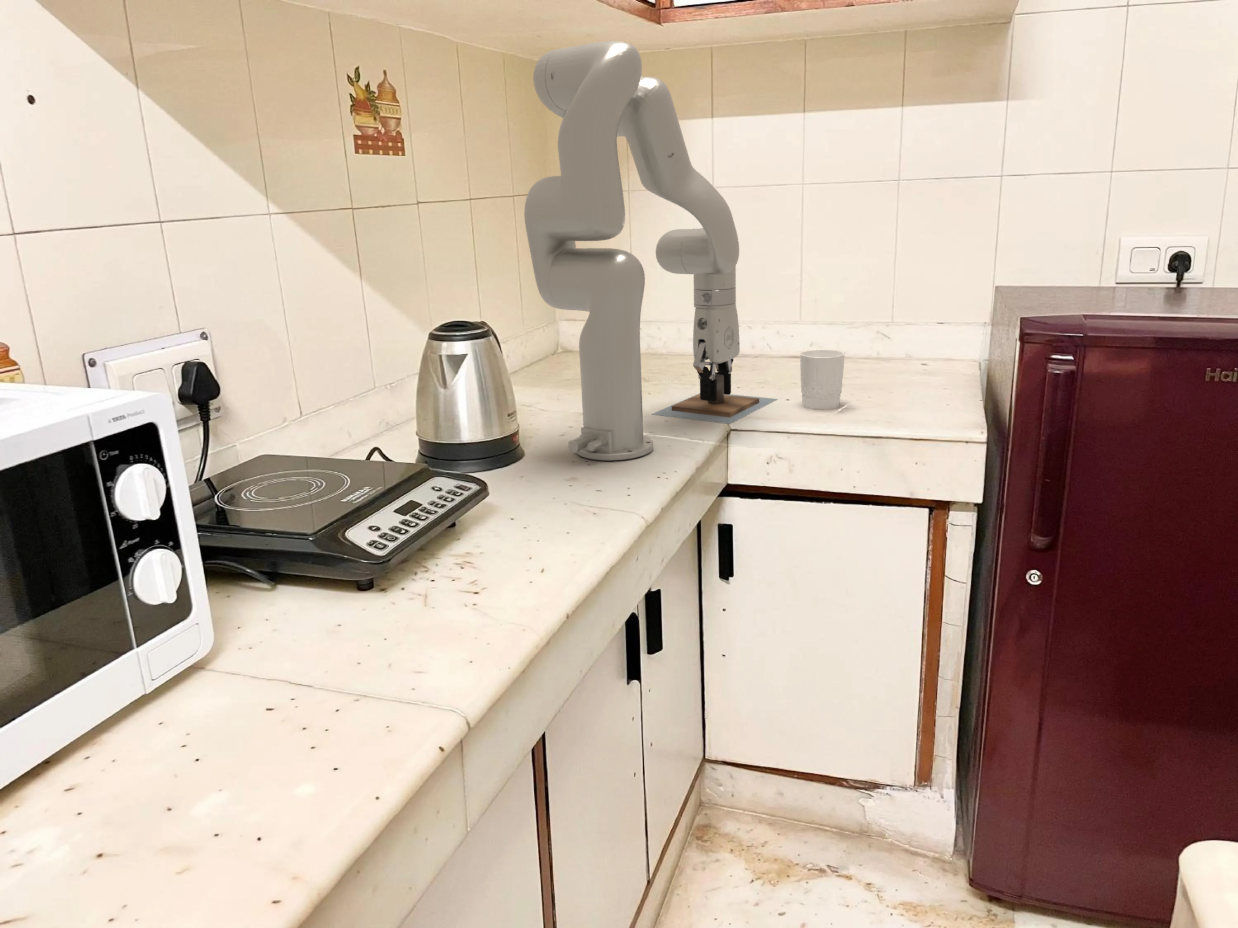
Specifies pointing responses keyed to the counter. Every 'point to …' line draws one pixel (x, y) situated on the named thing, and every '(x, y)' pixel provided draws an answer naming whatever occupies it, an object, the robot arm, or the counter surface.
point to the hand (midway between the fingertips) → (715, 396)
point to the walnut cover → (717, 403)
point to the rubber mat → (713, 418)
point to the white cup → (821, 378)
